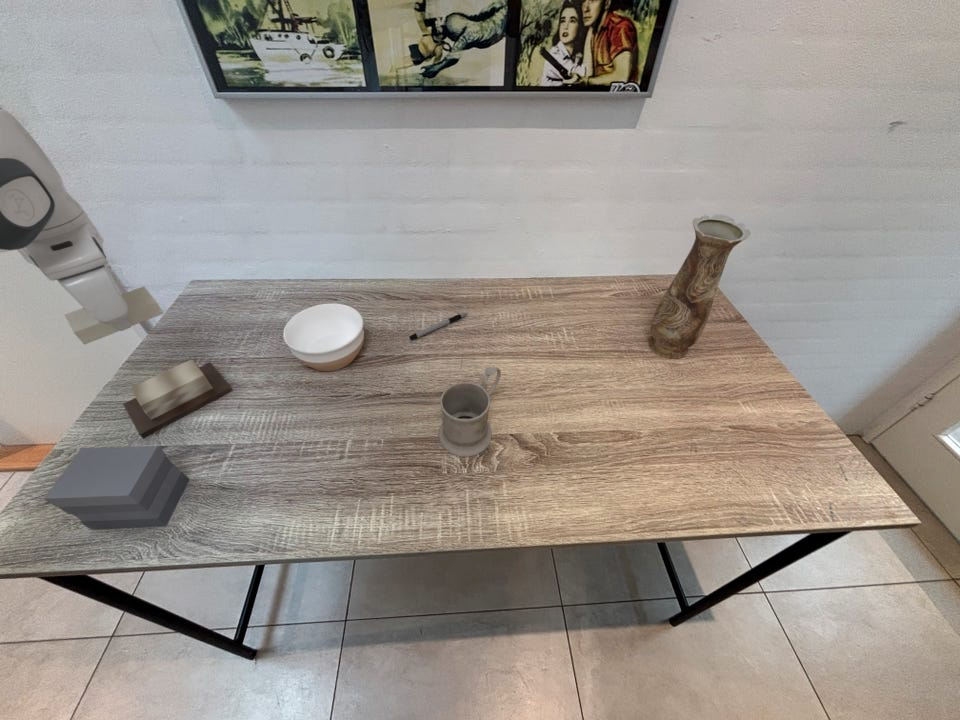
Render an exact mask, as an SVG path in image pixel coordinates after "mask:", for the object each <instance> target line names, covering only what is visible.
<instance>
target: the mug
mask: <svg viewBox="0 0 960 720" xmlns="http://www.w3.org/2000/svg"><path fill="white" fill-rule="evenodd" d="M484 373H485V375H484V377H483V379H482V381H481V383H480V384H477V383H473V382H466V381H463V382H457V383H454V384H452V385H450V386H449V387H446V389H445V390H444V391H443V393H442V394H441V396H440V401H439V403H440V409H441V417H442V423H441V425H440V427H439V430H438V439H439V443H440V445H441V446H442V448H443V449H444V450H445V451H446V452H448V453H449V454H452V455H454V456H456V457H461V458H462V457H464V458H469V457H474V456H477V455H478V454H481V453H483V452H484V451H485V450H486V449H487V448H488V447H489V446H490V443H491V441H492V435H493V431H492V428H491V425H490V423H489V422H488V421H489V410H490V407H491V406H490V405H491V397H490V396H491V395H492V393H493V392H494V391H495V390H496V388H497V386H498V384H499V382H500V380H501V376H502V373H501V369H500V368H499V367H494V366H487V367H486V368H485V369H484ZM495 374H496V377H495V380H494V382H493V384H492V386H490V388H489V389H488V384H487V381H488V379H489V377H490V376H493V375H495ZM487 389H488V391H487ZM460 417H469V418H460Z"/></svg>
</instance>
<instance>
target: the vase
mask: <svg viewBox="0 0 960 720" xmlns="http://www.w3.org/2000/svg"><path fill="white" fill-rule="evenodd" d="M692 225H693V229H694V233H695V238H694V242H693V244H692V246H691V249H690V250H689V252H688V254H687V256H686V257H685V259H684V260H683V263H682V264H681V266H680V268H679V270H678V272H677V273H676V275H675V277H674V278H673V280H672V282H671V283H670V285H669V287H668V288H667V290H666V292H665V293H664V295H663V297H662V298H661V300H660V301H659V303H658V305H657V307H656V309H655V312H654V313H653V317H652V320H651V324H650V333H651V335H650V336H649V338H648V339H647V345H648V347H649V348H650V349H651V351H653V352H654V353H655V354H656V355H658V356H660V357H663V358H666V359H674V360H675V359H682V358H684V357H685V356H686V355H687V354H688V352H689V348H690V347H692V346H694V345H695V343H697V341H698V340H699V339H700V337H701V335H702V333H703V332H704V329H705V328H706V325H707V323H708V320H709V317H710V314H711V311H712V308H713V304H714V300H715V298H716V294H717V291H718V288H719V285H720V281H721V278H722V276H723V273H724V269H725V266H726V265H727V261H728V259H729V256H730V254H731V252H732V251H733V249H734V248H735V247H736V246H737V245H738V244H740V243H741V242H743V241H744V240H746V239H748V238H749V237H750V236H751V231H750V229H748V228H745V227H746V226H745V223H743V222H738V223H737V222H735V219H734V218H732V217H731V216H729V215H726V214H725V215H724V214H714V215H713V216H711V217H710V216H709V215H706V214H704V215H702V216H700V218H699V217H694V218H693V220H692Z"/></svg>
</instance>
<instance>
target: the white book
mask: <svg viewBox="0 0 960 720" xmlns="http://www.w3.org/2000/svg"><path fill="white" fill-rule="evenodd" d="M121 295H122V297H123V298H124V300H125V302H126V304H127V306H128V308H129V311H130V315H129V316H128V317H126V318H127V319H128V321H129V322H130V324H131V327H133V326H135V325H138V324H140V323H144V322H146V321H148V320H151V319H153V318H156V317H158V316H162V315H163V314H164V311H163V310H162V308H161V307H160V305H159V303H158V302H157V300H155V298H154V297H153V296H152V294H151V293H150V292H149V291H148V289H147V288H146V286H141V287H138V288H135V289H133V290H129V291H126V292H124V293H121ZM64 317H65V319H66V321H67V323H68V325H69V326H70V329H71V330H72V333H73V334H74V335H75V336H76V337H77V339H78V340H79V341H80V342H81V343H82V344H83V345H87V344H90V343H92V342H95V341H97V340H100V339H102V338H105V337H107V336H111V335H113V334H116V333H118V332H120V331H119V330H118V329H117V328H116V327H115V325H114V324H113V323H110V324H106V325H104V324H101V323H100V322H98V321H97V320H96V319H95V318H94V317H92V316H91V315H90V314H89V313H88V312H87V311H86V310H85V309H84V308H83V307H81V308H79V309H76V310H73V311H71V312H68V313H65V314H64Z"/></svg>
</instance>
